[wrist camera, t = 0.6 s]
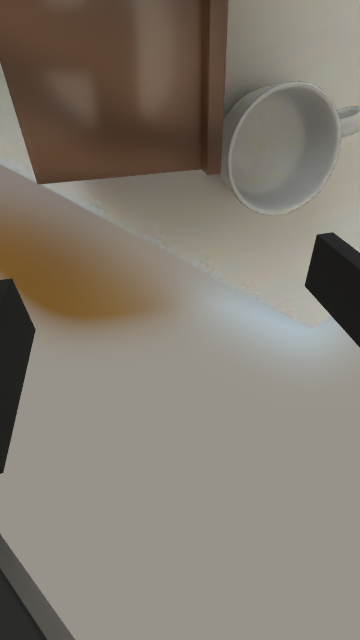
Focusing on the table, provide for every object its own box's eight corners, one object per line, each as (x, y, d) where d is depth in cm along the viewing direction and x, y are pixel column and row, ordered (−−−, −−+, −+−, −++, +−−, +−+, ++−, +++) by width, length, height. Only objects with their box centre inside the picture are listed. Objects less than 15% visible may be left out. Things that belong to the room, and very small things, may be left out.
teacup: (210, 200, 38) (232, 226, 32) (200, 90, 31) (225, 97, 25) (321, 174, 39) (363, 196, 33) (335, 61, 32) (391, 61, 26)
